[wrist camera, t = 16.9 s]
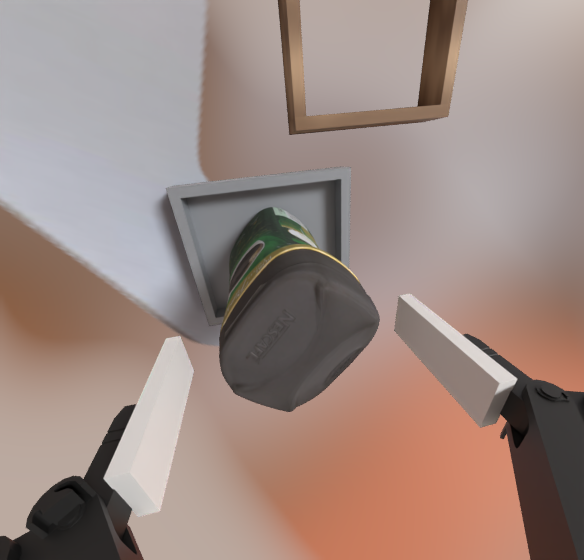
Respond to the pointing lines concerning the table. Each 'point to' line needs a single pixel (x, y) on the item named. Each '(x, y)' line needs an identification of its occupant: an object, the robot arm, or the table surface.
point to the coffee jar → (289, 314)
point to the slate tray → (243, 207)
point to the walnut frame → (431, 105)
